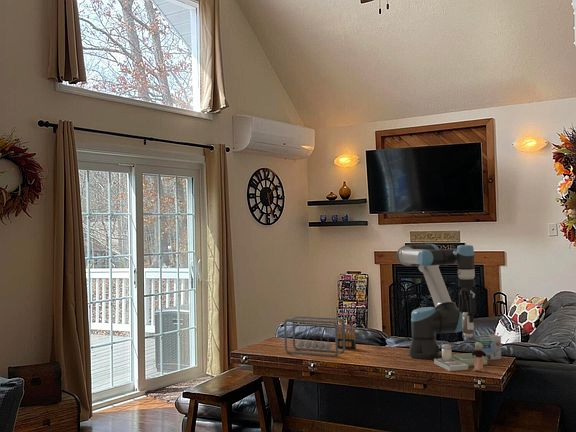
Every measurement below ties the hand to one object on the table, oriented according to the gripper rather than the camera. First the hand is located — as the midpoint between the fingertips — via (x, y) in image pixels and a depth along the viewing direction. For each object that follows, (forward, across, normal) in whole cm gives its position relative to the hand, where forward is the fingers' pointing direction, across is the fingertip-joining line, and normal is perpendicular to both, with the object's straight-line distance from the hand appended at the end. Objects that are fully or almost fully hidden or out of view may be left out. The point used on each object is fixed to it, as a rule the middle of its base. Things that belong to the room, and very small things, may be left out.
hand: (468, 328), depth 294 cm
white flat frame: (+16, +4, -11) cm, 20 cm away
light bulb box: (+16, -6, +13) cm, 22 cm away
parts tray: (+16, 0, 0) cm, 16 cm away
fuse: (+16, 0, -11) cm, 19 cm away
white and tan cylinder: (+4, 0, 0) cm, 4 cm away
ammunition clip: (+16, -52, -44) cm, 70 cm away
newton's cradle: (+16, -46, -63) cm, 79 cm away
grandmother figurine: (+16, +16, -3) cm, 23 cm away
